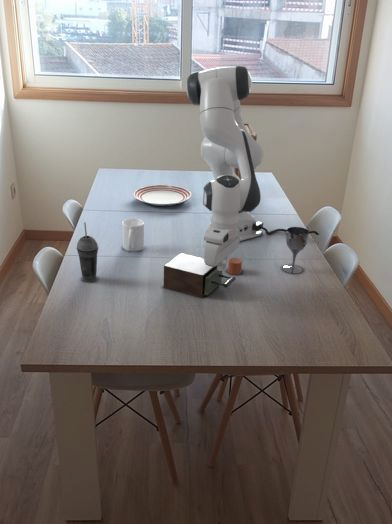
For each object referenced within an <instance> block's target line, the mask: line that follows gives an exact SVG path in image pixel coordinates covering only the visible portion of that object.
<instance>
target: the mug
mask: <svg viewBox="0 0 392 524" xmlns="http://www.w3.org/2000/svg"><path fill="white" fill-rule="evenodd" d="M121 224H122V225H121V226H122V227H121V230H122V249H124V250H125V251H127V252H133V253H135V252H140V251H142V250H144V248H145V222H144V220H142V219H138V218H127V219H124V220H122V222H121Z"/></svg>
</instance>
